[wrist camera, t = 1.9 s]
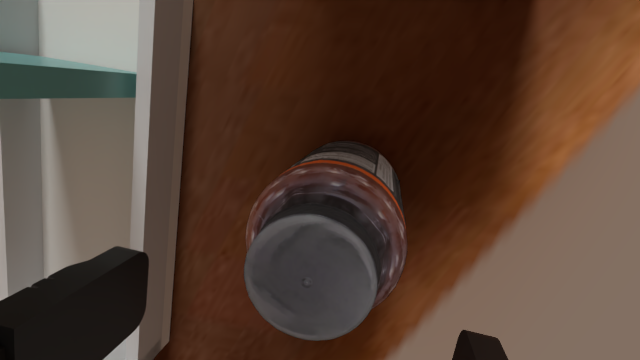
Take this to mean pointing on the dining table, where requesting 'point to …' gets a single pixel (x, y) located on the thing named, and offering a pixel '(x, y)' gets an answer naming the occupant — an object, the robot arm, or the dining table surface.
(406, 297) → the dining table surface
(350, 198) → the supplement bottle
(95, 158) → the lane
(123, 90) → the pusher
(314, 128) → the dining table surface
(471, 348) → the robot arm
